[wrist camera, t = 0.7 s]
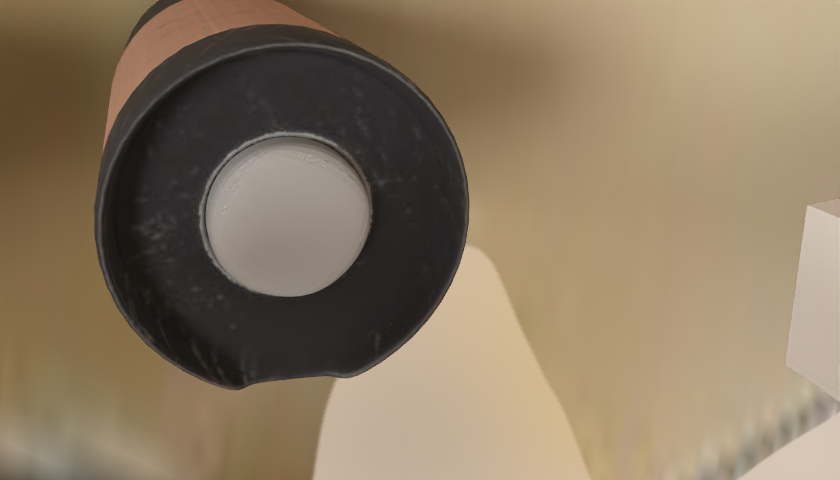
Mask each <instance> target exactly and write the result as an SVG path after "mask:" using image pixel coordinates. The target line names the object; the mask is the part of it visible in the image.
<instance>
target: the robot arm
mask: <svg viewBox="0 0 840 480" xmlns="http://www.w3.org/2000/svg"><path fill="white" fill-rule="evenodd" d="M785 366H787V367H788V368H790V369H791V370H793V371H794V372H796V373H797V374H799V375H800V376H802V377H803V378H805V379H806V380H808V381H809V382H811V383H812V384H814V385H815V386H816V387H818V388H819V389H821V390H822V391H824V392H825V393H827V394H828V395H830V396H831V397H833V398H834V399H836V400H837V401H839V402H840V198H839V199H834V200H829V201H824V202H819V203H814V204H809V205H807V210H806V217H805V224H804V231H803V239H802V246H801V253H800V260H799V268H798V275H797V282H796V289H795V296H794V304H793V311H792V318H791V325H790V332H789V340H788V347H787V354H786V361H785Z"/></svg>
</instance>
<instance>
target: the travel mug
mask: <svg viewBox="0 0 840 480" xmlns="http://www.w3.org/2000/svg"><path fill="white" fill-rule="evenodd" d="M94 210H95V240H96V246H97V253H98V259H99V263H100V266H101V269H102V273H103V276H104V279H105V282H106V285H107V287H108V289H109V291H110V293H111V295H112V297H113V300H114V302H115V304H116V306H117V308H118V309H119V311H120V312H121V313H122V315H123V316H124V318H125V319H126V321H127V322H128V324H129V325H130V327H131V328H132V329H133V330H134V331H135V332H136V333H137V334H138V335H139V337H140V338H141V339H142V340H143V341H144V342H145V343H146V344H147V345H148V346H149V347H151V348H152V349H153V350H154V351H155V352H157V353H158V354H159V355H160V356H161V357H163V358H164V359H165V360H167V361H168V362H170V363H171V364H173V365H175V366H176V367H178V368H179V369H181V370H183V371H184V372H186V373H188V374H190V375H192V376H194V377H196V378H198V379H200V380H202V381H205V382H207V383H210V384H213V385H215V386H218V387H221V388H225V389H229V390H240V389H243V388H245V387H247V386H249V385H252V384H255V383H261V382H268V381H276V380H285V379H295V378H304V377H317V376H332V377H338V378H350V377H354V376H357V375H359V374H361V373H364V372H366V371H368V370H369V369H371V368H372V367H374V366H376V365H377V364H379V363H381V362H382V361H383V360H385V359H386V358H388V357H389V356H390V355H392V354H393V353H394V352H396V351H397V350H398V349H399V348H401V347H402V346H403V345H404V344H405V343H406V342H407V341H409V340H410V339H411V338H412V337H413V336H414V335H415V334H416V333H417V332H418V330H419V329H420V328H421V327H422V326H423V325H424V324H425V323H426V322H427V321H428V319H429V318H430V317H431V315H432V314H433V313H434V311H435V310H436V309H437V307H438V306H439V304H440V303H441V301H442V300H443V298H444V296H445V294H446V293H447V291H448V289H449V287H450V286H451V283H452V281H453V278H454V276H455V274H456V271H457V269H458V267H459V264H460V261H461V258H462V254H463V251H464V247H465V243H466V237H467V230H468V224H469V192H468V182H467V176H466V172H465V168H464V164H463V159H462V156H461V154H460V151H459V149H458V146H457V143H456V141H455V138H454V136H453V134H452V133H451V131H450V129H449V127H448V125H447V124H446V122H445V120H444V118H443V117H442V115H441V114H440V112H439V111H438V110H437V108H436V107H435V106H434V104H433V103H432V102H431V100H430V99H429V98H428V97H427V96H426V95H425V94H424V93H423V92H422V91H421V90H420V89H419V88H418V87H417V86H416V85H415V84H414V83H413V82H412V81H411V80H410V79H409V78H407V77H406V76H405V75H404V74H402V73H401V72H400V71H398V70H397V69H396V68H394V67H393V66H392V65H390V64H389V63H387V62H385V61H383V60H382V59H380V58H378V57H376V56H374V55H373V54H371V53H369V52H367V51H366V50H364V49H362V48H360V47H358V46H357V45H355V44H353V43H351V42H350V41H348V40H346V39H344V38H342V37H341V36H339V35H337V34H335V33H334V32H332V31H330V30H328V29H326V28H325V27H323V26H321V25H319V24H318V23H316V22H314V21H312V20H310V19H309V18H307V17H305V16H303V15H302V14H300V13H298V12H296V11H295V10H293V9H291V8H289V7H287V6H286V5H284V4H282V3H280V2H277V1H275V0H159V1H158V2H156V3H155V4H154V5H153V6H152V7H151V8H149V9H148V10H147V12H146V13H145V14H144V15H143V16H142V17H141V19H140V20H139V22H138V23H137V25H136V26H135V28H134V29H133V31H132V33H131V36H130V38H129V40H128V42H127V44H126V47H125V49H124V51H123V54H122V56H121V58H120V60H119V63H118V65H117V68H116V71H115V75H114V78H113V82H112V88H111V95H110V102H109V109H108V116H107V123H106V130H105V137H104V144H103V151H102V158H101V165H100V172H99V179H98V186H97V193H96V200H95V207H94Z"/></svg>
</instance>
